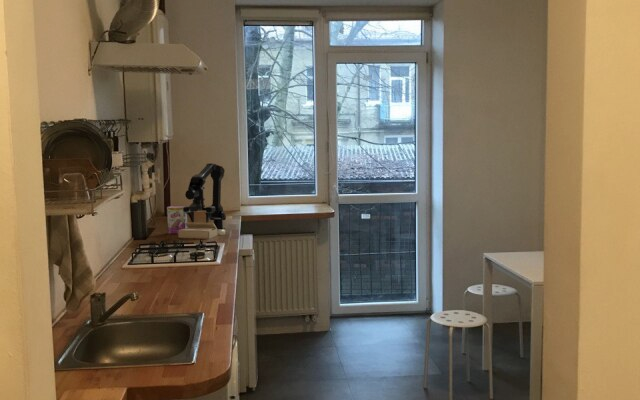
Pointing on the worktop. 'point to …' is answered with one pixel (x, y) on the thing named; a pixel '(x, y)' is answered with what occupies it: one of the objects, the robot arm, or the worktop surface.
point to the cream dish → (221, 231)
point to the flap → (200, 225)
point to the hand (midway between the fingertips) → (200, 223)
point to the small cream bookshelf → (197, 233)
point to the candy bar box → (176, 219)
